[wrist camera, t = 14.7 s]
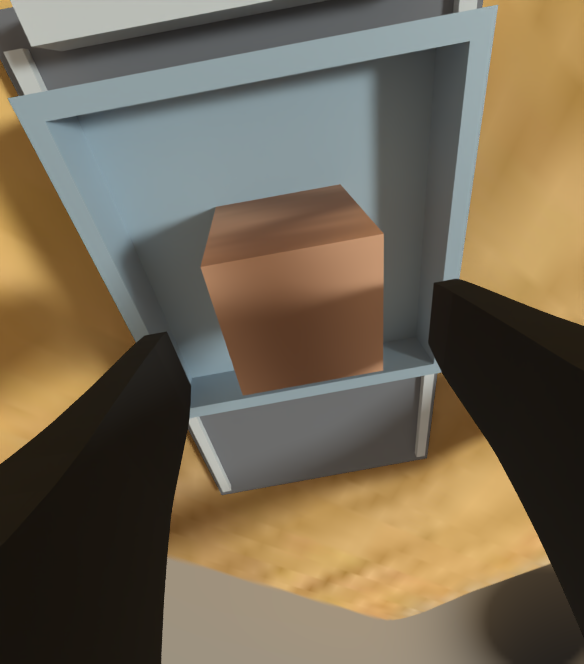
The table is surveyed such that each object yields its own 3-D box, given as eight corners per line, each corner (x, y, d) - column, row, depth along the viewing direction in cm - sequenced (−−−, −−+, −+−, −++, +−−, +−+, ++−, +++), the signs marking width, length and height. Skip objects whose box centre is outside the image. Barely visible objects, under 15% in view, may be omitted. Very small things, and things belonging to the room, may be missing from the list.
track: (482, -79, 11) (537, -116, 9) (423, 451, 28) (438, 482, 26) (-12, 16, 11) (-71, 2, 9) (222, 487, 28) (220, 521, 26)
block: (340, 184, 13) (383, 233, 9) (347, 293, 15) (382, 370, 11) (215, 206, 13) (200, 267, 9) (244, 311, 15) (242, 395, 11)
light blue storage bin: (428, 25, 12) (498, 4, 9) (411, 320, 19) (445, 371, 16) (74, 93, 12) (7, 97, 9) (189, 361, 19) (177, 420, 16)
